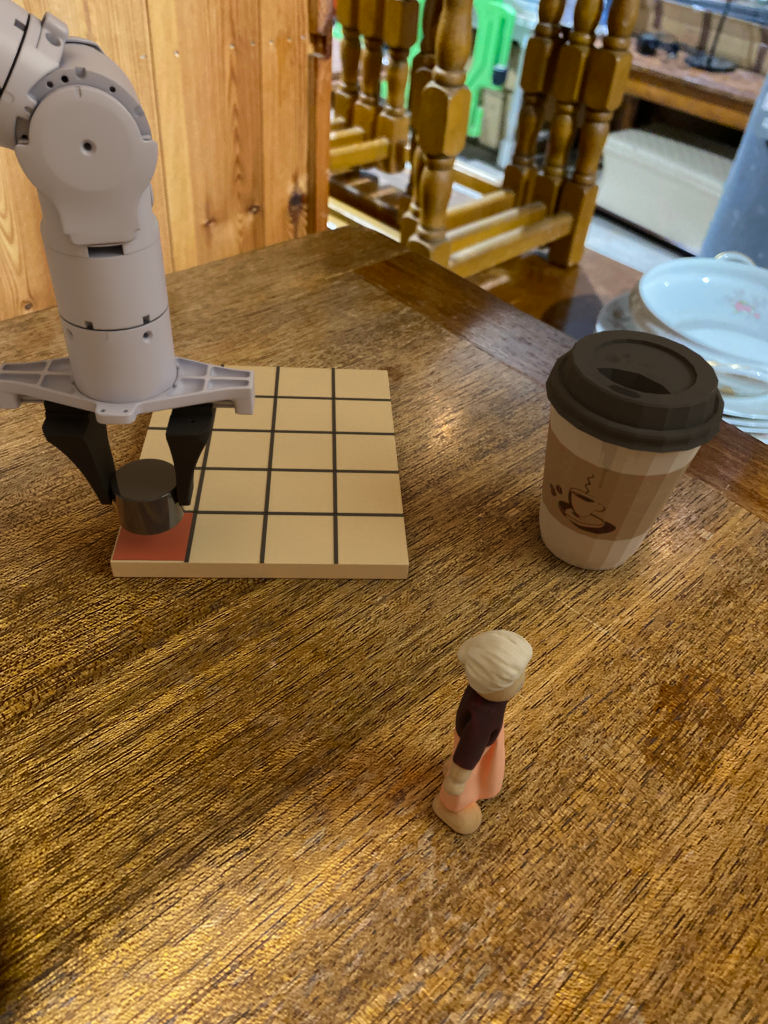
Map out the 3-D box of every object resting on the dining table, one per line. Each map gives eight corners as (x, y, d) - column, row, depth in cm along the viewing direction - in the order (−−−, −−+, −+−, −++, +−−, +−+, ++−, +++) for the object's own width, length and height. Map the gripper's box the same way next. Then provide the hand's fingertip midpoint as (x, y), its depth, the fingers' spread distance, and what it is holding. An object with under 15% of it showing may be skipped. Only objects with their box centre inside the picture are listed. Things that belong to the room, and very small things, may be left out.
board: (113, 577, 53) (109, 560, 52) (168, 377, 71) (166, 362, 70) (407, 579, 54) (409, 563, 53) (386, 383, 73) (387, 369, 72)
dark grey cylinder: (110, 535, 51) (103, 500, 49) (124, 491, 54) (117, 457, 52) (180, 536, 51) (175, 501, 49) (188, 492, 54) (184, 458, 52)
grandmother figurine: (495, 859, 40) (547, 720, 32) (421, 845, 40) (454, 703, 32) (502, 731, 46) (548, 584, 37) (438, 719, 46) (469, 571, 38)
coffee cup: (486, 549, 57) (524, 373, 47) (546, 471, 65) (590, 305, 55) (634, 617, 53) (711, 441, 43) (680, 525, 61) (754, 357, 51)
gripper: (-53, 338, 39) (15, 536, 48) (243, 347, 40) (254, 538, 49) (-8, 274, 44) (45, 464, 53) (253, 285, 45) (261, 468, 54)
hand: (147, 495), depth 51 cm, fingers closed on dark grey cylinder, 4 cm apart
